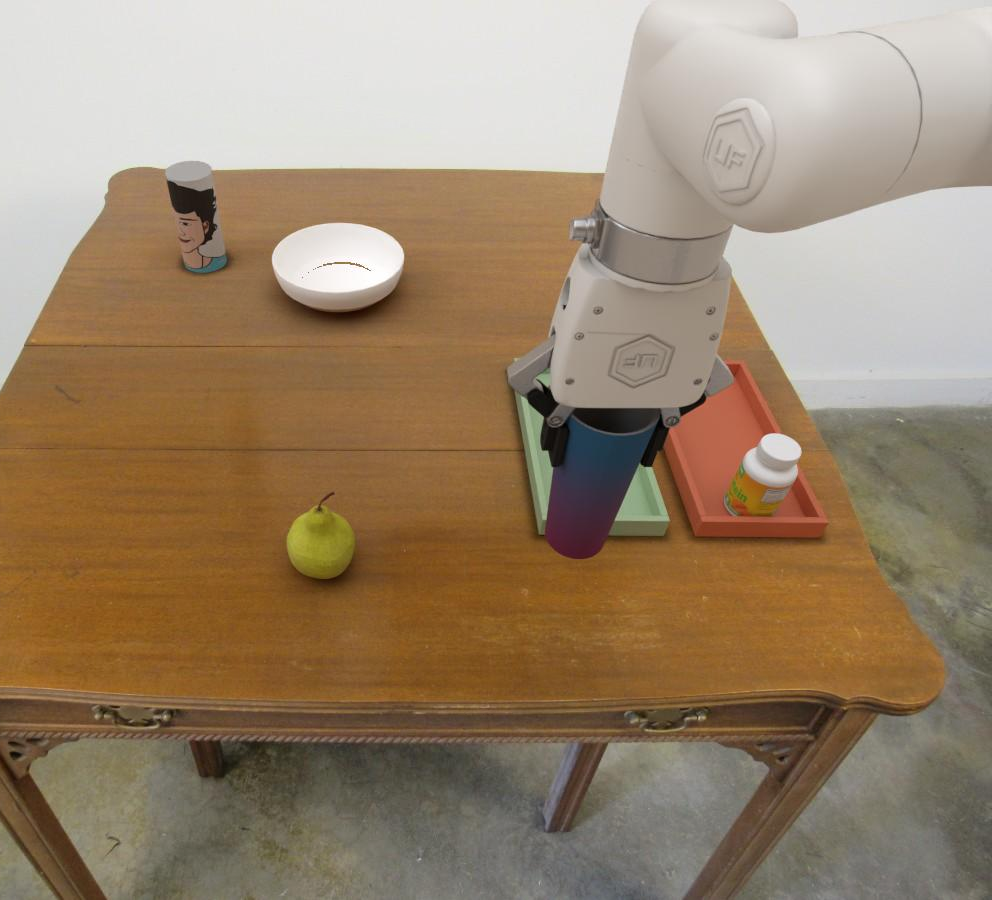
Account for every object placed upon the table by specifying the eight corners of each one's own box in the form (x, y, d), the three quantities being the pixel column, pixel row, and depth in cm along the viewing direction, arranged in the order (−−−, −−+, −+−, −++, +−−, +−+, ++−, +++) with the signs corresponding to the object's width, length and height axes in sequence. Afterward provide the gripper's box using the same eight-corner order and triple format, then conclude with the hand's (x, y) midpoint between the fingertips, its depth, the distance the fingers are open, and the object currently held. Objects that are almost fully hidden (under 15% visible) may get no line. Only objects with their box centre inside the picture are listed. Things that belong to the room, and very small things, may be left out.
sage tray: (663, 536, 80) (670, 521, 78) (538, 535, 80) (542, 519, 78) (611, 374, 100) (616, 358, 98) (511, 372, 100) (513, 357, 98)
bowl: (374, 341, 104) (373, 305, 100) (252, 310, 109) (246, 274, 105) (421, 272, 117) (423, 237, 113) (310, 247, 122) (308, 213, 117)
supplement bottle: (714, 491, 84) (744, 429, 77) (759, 487, 85) (793, 426, 78) (735, 528, 80) (768, 467, 74) (782, 524, 81) (819, 463, 74)
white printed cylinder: (186, 251, 121) (168, 161, 110) (228, 249, 121) (213, 160, 110) (181, 273, 116) (161, 181, 105) (225, 272, 116) (209, 180, 106)
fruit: (277, 578, 76) (264, 502, 67) (309, 530, 80) (300, 453, 72) (337, 601, 74) (331, 526, 66) (366, 551, 78) (364, 474, 70)
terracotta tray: (819, 537, 80) (829, 522, 79) (694, 536, 80) (702, 521, 78) (737, 375, 100) (744, 360, 98) (637, 374, 100) (641, 359, 98)
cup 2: (533, 502, 66) (561, 368, 55) (611, 509, 65) (654, 376, 54) (534, 563, 61) (564, 430, 50) (618, 572, 60) (666, 439, 50)
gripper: (519, 270, 41) (488, 490, 53) (831, 271, 41) (726, 491, 53) (504, 207, 46) (479, 420, 59) (780, 207, 46) (696, 421, 59)
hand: (597, 452), depth 56 cm, fingers closed on cup 2, 6 cm apart
